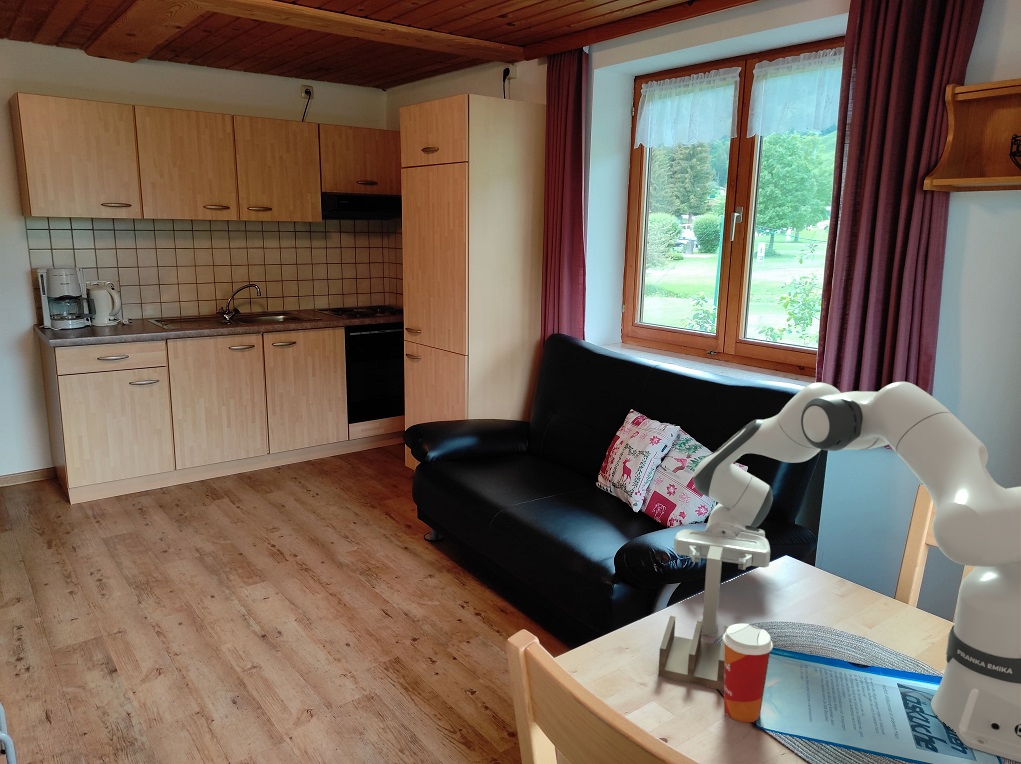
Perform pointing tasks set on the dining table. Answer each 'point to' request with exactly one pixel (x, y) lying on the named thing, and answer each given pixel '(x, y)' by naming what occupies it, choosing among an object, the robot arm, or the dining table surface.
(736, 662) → the paper cup
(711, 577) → the strip
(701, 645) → the rack
